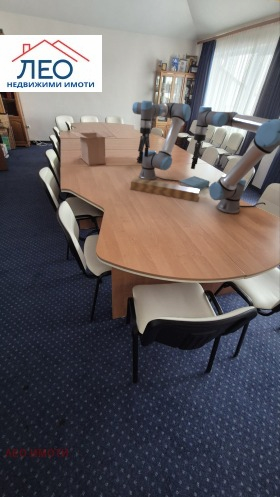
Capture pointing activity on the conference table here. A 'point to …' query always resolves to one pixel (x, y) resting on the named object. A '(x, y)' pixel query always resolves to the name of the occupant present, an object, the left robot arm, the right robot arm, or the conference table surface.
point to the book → (194, 182)
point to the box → (92, 146)
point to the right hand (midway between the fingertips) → (193, 166)
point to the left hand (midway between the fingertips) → (143, 158)
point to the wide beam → (165, 189)
